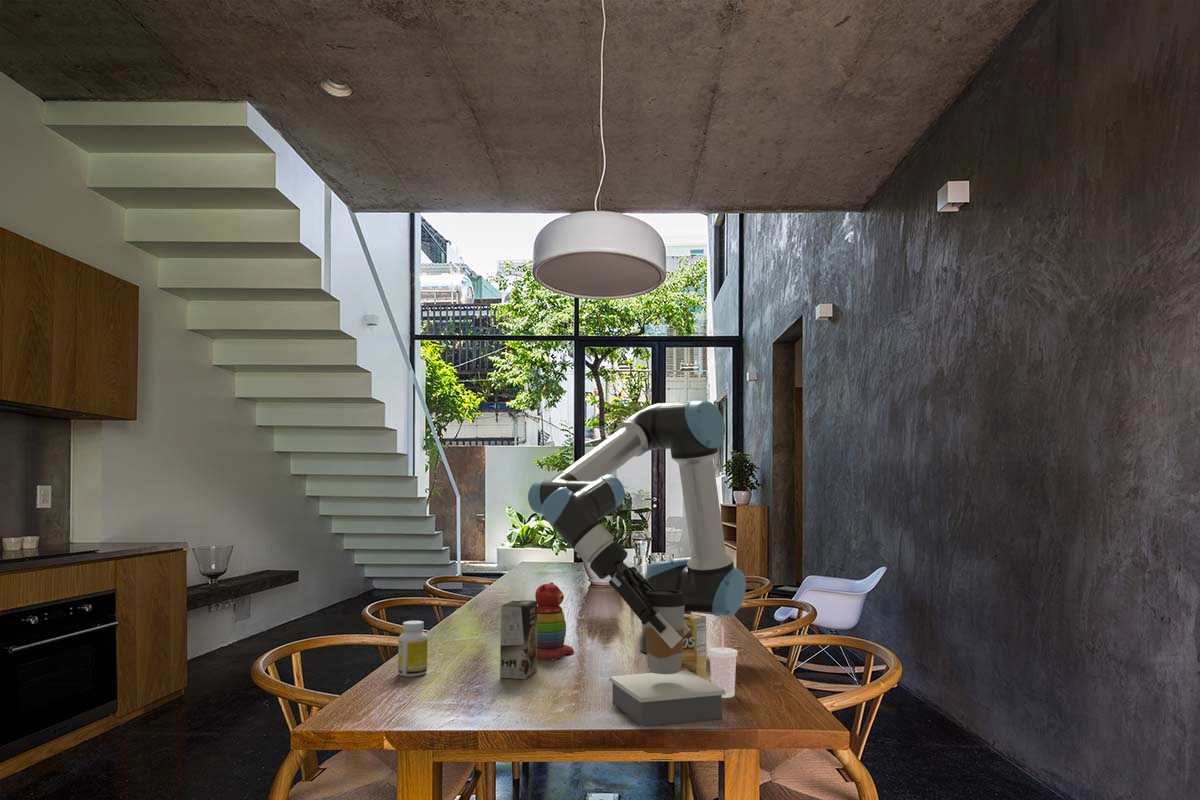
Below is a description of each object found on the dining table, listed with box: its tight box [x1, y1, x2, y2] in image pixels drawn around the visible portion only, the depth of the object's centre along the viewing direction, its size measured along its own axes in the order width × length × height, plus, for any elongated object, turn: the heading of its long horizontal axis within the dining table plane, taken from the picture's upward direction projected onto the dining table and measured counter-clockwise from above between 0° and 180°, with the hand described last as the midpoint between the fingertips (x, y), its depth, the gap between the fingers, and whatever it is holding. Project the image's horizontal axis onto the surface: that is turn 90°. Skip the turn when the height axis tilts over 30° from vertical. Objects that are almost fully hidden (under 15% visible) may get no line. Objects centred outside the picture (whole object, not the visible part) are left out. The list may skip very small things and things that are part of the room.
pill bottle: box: [397, 620, 428, 677], centre depth 189 cm, size 6×6×12 cm
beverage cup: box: [707, 625, 738, 699], centre depth 172 cm, size 6×6×14 cm
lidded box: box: [608, 670, 725, 728], centre depth 160 cm, size 17×17×5 cm
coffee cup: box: [644, 590, 686, 674], centre depth 161 cm, size 8×8×15 cm
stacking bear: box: [534, 581, 575, 660], centre depth 210 cm, size 11×10×18 cm
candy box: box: [680, 613, 707, 680], centre depth 178 cm, size 9×4×15 cm, turn 50°
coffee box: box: [499, 599, 538, 680], centre depth 189 cm, size 9×6×16 cm
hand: (681, 639), depth 160 cm, fingers closed on coffee cup, 8 cm apart
